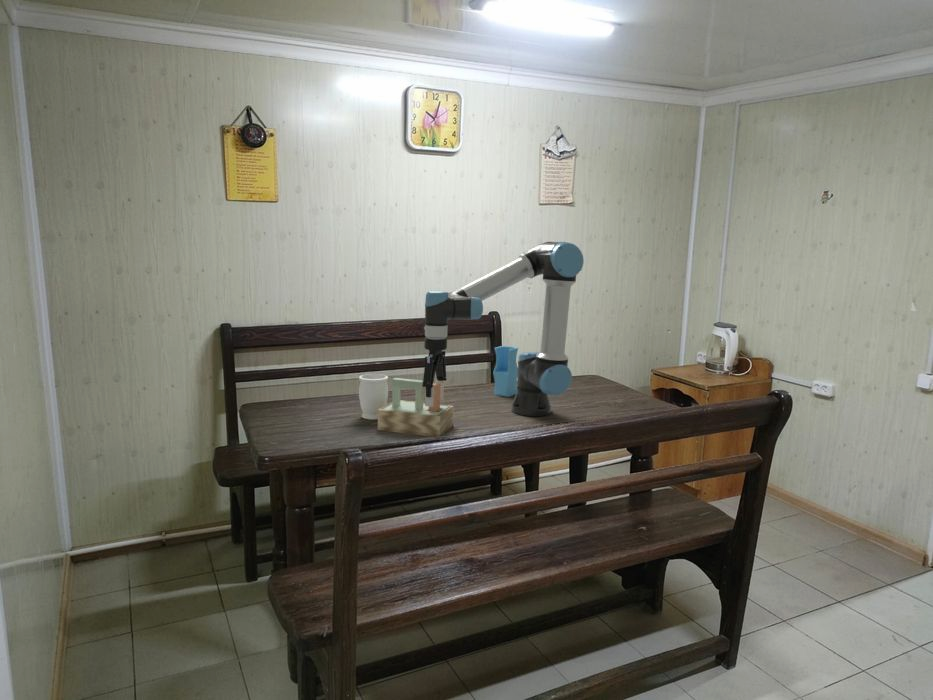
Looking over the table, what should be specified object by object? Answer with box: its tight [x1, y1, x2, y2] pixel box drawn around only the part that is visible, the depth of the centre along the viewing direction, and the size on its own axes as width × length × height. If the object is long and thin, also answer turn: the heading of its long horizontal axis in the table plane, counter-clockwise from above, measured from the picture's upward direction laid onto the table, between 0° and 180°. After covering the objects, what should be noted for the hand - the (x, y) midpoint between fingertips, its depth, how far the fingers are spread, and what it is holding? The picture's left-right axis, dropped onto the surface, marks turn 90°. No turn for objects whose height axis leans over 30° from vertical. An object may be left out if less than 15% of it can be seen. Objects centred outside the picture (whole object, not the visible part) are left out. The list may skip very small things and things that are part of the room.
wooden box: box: [377, 399, 455, 438], centre depth 217 cm, size 22×15×7 cm
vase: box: [492, 345, 519, 398], centre depth 268 cm, size 8×8×20 cm
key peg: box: [429, 382, 441, 412], centre depth 214 cm, size 3×3×15 cm
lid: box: [383, 377, 450, 416], centre depth 216 cm, size 19×12×10 cm, turn 73°
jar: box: [358, 373, 389, 421], centre depth 228 cm, size 11×10×15 cm
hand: (434, 402), depth 214 cm, fingers open, 9 cm apart
